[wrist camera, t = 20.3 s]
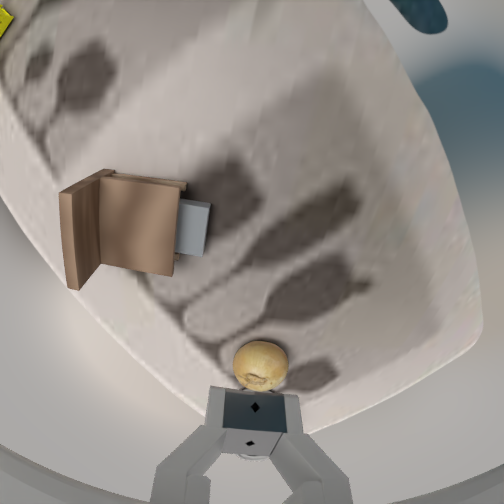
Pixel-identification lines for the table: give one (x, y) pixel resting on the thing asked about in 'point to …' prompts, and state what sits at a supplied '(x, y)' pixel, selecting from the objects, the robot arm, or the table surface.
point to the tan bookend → (119, 224)
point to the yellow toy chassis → (4, 20)
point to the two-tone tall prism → (192, 227)
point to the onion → (260, 365)
